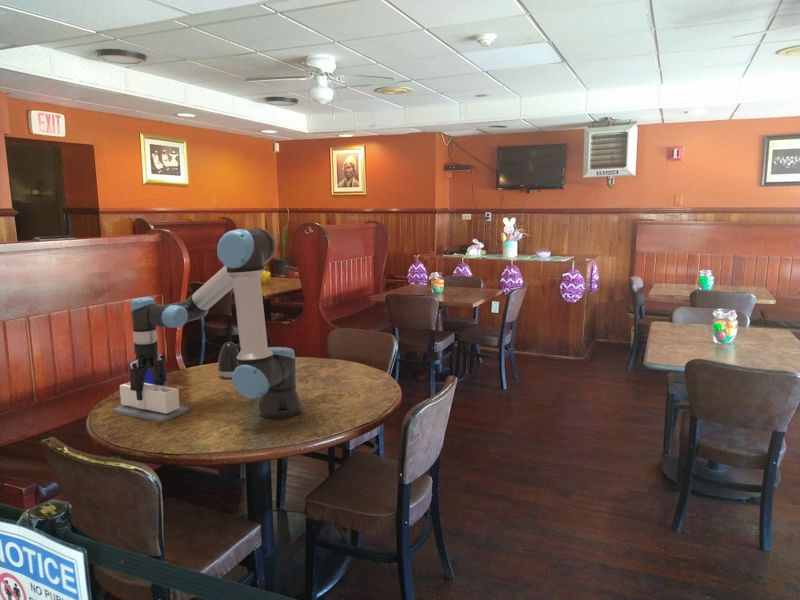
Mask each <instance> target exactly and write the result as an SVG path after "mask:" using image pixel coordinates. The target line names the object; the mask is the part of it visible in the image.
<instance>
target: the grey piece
mask: <svg viewBox="0 0 800 600" xmlns="http://www.w3.org/2000/svg"><path fill="white" fill-rule="evenodd" d="M157 391H162V386H158V387H157ZM179 407H180V408H179V409H176V410H174V411H171V412H169V413H161V412H156V411H151V410H147V409H140V408H137V407H132V406H127V405H123V404H122V405H121V406H118V407H115V408H112V413H113V414H118V415H123V416H128V417H133V418H139V419H143V420H148V421H153V422H157V423H164V422H167V421H169V420H171V419H174V418H176V417H179V416H181V415H183V414H186V413H189V412H190V408H189V407H185V406H180V405H179Z"/></svg>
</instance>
